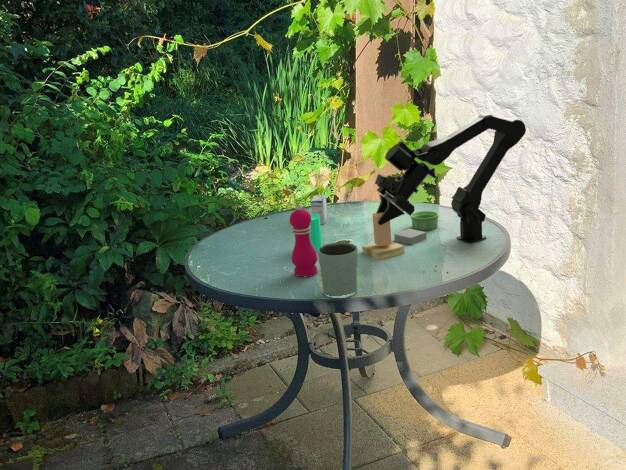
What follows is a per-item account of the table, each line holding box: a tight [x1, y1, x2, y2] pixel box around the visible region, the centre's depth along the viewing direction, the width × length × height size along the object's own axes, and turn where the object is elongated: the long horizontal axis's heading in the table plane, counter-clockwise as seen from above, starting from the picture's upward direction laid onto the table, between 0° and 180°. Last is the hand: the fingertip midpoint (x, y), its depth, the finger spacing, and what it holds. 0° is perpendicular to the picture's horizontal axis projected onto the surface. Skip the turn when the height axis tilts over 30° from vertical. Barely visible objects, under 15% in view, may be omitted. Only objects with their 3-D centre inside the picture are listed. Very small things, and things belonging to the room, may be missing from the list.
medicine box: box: [310, 194, 328, 225], centre depth 238 cm, size 8×4×9 cm, turn 172°
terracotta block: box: [372, 212, 392, 247], centre depth 199 cm, size 4×4×9 cm
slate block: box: [393, 228, 428, 245], centre depth 210 cm, size 7×7×2 cm
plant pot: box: [317, 242, 358, 296], centre depth 172 cm, size 10×10×12 cm
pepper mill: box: [289, 203, 319, 277], centre depth 187 cm, size 7×7×20 cm
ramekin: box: [410, 210, 439, 231], centre depth 221 cm, size 9×9×4 cm
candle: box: [308, 211, 323, 253], centre depth 208 cm, size 6×6×12 cm
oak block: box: [361, 240, 406, 260], centre depth 201 cm, size 9×9×2 cm
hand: (377, 222), depth 198 cm, fingers closed on terracotta block, 4 cm apart
